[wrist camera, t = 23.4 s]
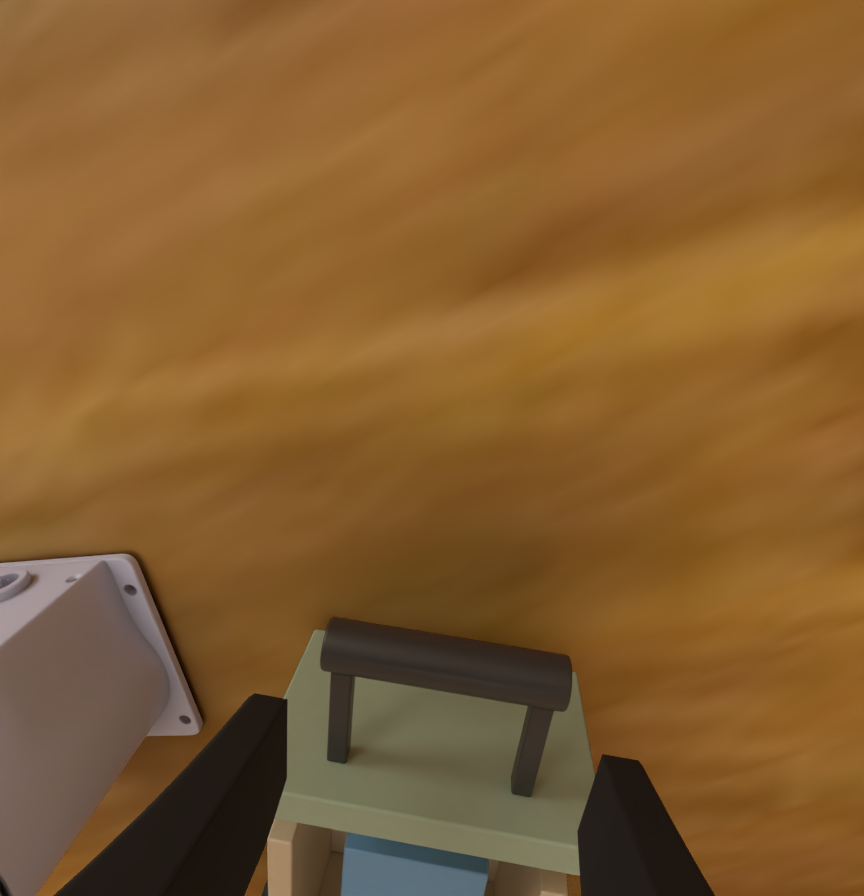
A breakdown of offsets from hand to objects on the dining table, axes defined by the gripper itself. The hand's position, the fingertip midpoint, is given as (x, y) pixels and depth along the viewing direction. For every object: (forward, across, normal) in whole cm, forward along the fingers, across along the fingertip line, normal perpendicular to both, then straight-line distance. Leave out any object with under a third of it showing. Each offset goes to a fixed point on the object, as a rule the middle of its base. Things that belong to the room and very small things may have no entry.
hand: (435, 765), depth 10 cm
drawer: (+10, 0, +10) cm, 14 cm away
